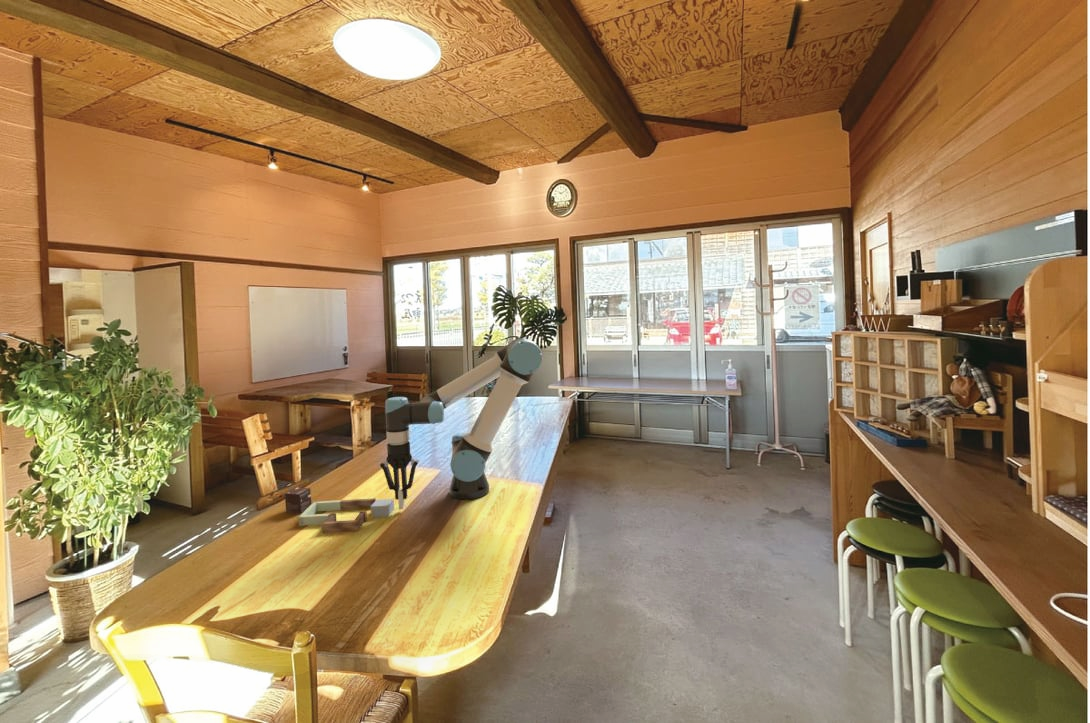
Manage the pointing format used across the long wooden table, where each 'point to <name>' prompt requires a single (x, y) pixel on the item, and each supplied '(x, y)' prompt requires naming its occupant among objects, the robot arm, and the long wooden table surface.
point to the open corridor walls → (351, 525)
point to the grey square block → (382, 508)
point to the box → (297, 500)
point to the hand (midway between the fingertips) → (401, 507)
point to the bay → (317, 519)
